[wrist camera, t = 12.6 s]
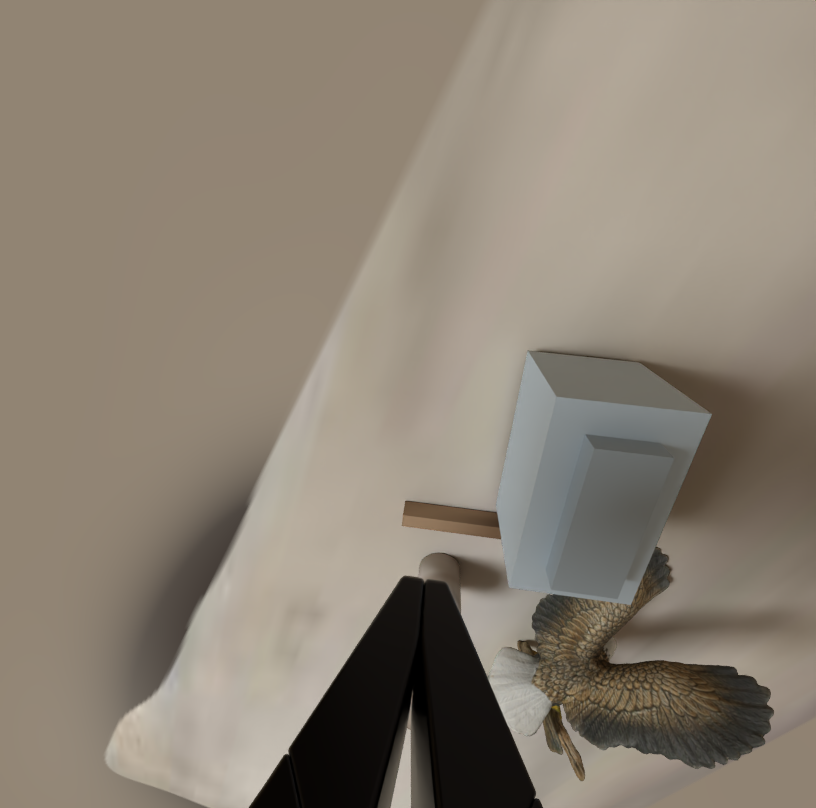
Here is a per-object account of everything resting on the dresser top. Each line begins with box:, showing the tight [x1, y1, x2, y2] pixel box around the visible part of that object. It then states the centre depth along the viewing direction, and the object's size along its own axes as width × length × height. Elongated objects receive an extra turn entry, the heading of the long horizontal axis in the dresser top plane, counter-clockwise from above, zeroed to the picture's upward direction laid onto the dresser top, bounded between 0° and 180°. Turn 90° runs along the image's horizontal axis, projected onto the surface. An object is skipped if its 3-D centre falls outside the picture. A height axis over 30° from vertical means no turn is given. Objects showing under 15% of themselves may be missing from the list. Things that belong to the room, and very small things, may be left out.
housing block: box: [496, 351, 712, 605], centre depth 14 cm, size 4×7×5 cm, turn 175°
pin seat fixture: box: [402, 501, 501, 730], centre depth 18 cm, size 10×19×2 cm, turn 175°
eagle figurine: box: [488, 547, 774, 781], centre depth 17 cm, size 8×7×9 cm
